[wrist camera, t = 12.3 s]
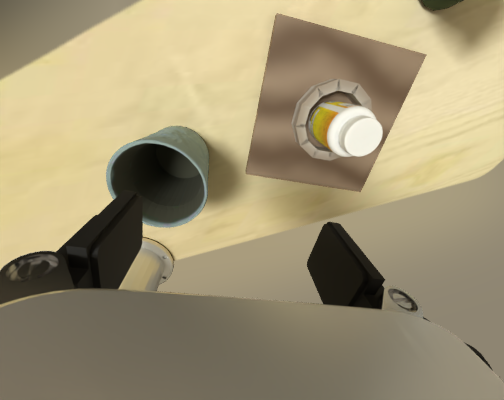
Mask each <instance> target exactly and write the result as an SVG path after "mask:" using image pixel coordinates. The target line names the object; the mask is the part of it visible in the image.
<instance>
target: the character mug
mask: <svg viewBox="0 0 504 400" xmlns="http://www.w3.org/2000/svg"><path fill="white" fill-rule="evenodd" d="M422 1H423V3H424V6H426V7H428V8H430V9H432V10H439V9H445V8H449V7H451V6H453V5H455V4H457V3H459V2H461V1H463V0H422Z"/></svg>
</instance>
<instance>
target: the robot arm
mask: <svg viewBox="0 0 504 400" xmlns="http://www.w3.org/2000/svg"><path fill="white" fill-rule="evenodd" d="M142 226H143V198H142V196H139V194H138V192H133V191H126V190H124V191H122V192H121V193H120V194H119V195H118V196H117V197H116V198H115V199H114V200H113V201H112V202H111V203H110V204H109V205H108V206H107V207H106V208H105V209H104V210H103V211H102V212H101V213H100V214H99V215H95V216H94V217H93V218H92V219H91V220H89V221H88V222H87V223H86V224H85V225H84V226H83V227H82V228H81V229H80V230H79V231H78V232H77V233H76V234H75V235H74V236H73V237H71V238H70V239H69V240H68V241H67V242H66V243H65V244H64V245H63V246H62V247H61V248H60V249H59V250H58V251H57V252H52V251H39V252H34V253H29V254H26V255H23V256H20V257H18V258H16V259H14V260H12V261H10V262H9V263H8V264H6V265H5V266H4V267H3V268H2V269H1V270H0V400H504V379H502V378H501V377H500V376H499V377H498V376H497V375H496V374H495V373H494V372H493V370H492V368H491V367H490V365H489V364H488V362H487V361H486V360H485V359H484V357H483V356H482V355H481V354H480V353H479V352H478V351H477V350H476V349H475V348H473V347H472V346H470V345H468V344H466V343H464V342H463V341H462V340H460V339H459V338H458V337H457V336H455V335H454V334H453V333H451V332H450V331H448V330H446V329H444V328H443V327H440V326H439V325H437V324H434V323H432V322H430V321H429V320H427V319H426V318H424V317H423V312H422V308H421V306H420V304H419V303H418V302H417V301H416V300H415V298H414V297H412V296H411V295H410V294H409V293H407V292H406V291H404V290H402V289H400V288H398V287H395V286H387V287H385V288H384V287H383V286H382V284H383V282H384V281H385V279H384V278H383V276H382V275H381V274H380V273H379V272H378V270H377V269H376V268H375V267H374V265H373V264H372V263H371V262H370V261H369V259H368V258H367V257H366V255H364V253H363V252H362V251H361V249H360V248H359V247H358V246H357V244H356V243H355V242H354V241H353V239H352V238H351V237H350V236H349V235H348V233H347V232H346V231H345V230H344V228H343V227H342V226H341V225H340V224H338V223H332V222H328V223H327V224H324V226H323V227H322V230H321V232H320V234H319V236H318V239H317V241H316V243H315V245H314V248H313V250H312V252H311V254H310V257H309V259H308V262H307V267H308V270H309V272H310V274H311V276H312V279H313V281H314V283H315V286H316V288H317V291H318V293H319V295H320V297H321V300H322V302H323V304H314V303H303V302H291V301H278V300H265V299H252V298H238V297H226V296H212V295H199V294H185V293H171V292H157V288H158V286H159V285H160V284H162V283H163V282H165V281H166V280H167V279H168V278H169V277H170V275H171V273H172V271H173V267H174V262H173V258H172V256H171V254H170V253H169V252H168V250H167V249H166V248H164V247H163V246H162V245H160V244H159V243H157V242H155V241H153V240H150V239H147V238H142Z"/></svg>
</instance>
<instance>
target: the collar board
mask: <svg viewBox="0 0 504 400" xmlns="http://www.w3.org/2000/svg"><path fill="white" fill-rule="evenodd" d="M425 57H426V54H422V53H418V52H415V51H411V50H408V49H404V48H400V47H397V46H393V45H390V44H386V43H382V42H379V41H375V40H372V39H368V38H364V37H361V36H357V35H354V34H350V33H346V32H343V31H339V30H336V29H332V28H329V27H325V26H321V25H318V24H314V23H311V22H307V21H303V20H300V19H296V18H293V17H289V16H285V15H282V14H278V13H277V14H276V16H275V21H274V26H273V31H272V37H271V42H270V47H269V52H268V57H267V63H266V68H265V73H264V78H263V83H262V89H261V94H260V99H259V104H258V109H257V115H256V120H255V125H254V130H253V135H252V141H251V146H250V151H249V156H248V161H247V167H246V174H249V175H256V176H262V177H268V178H275V179H281V180H288V181H294V182H300V183H307V184H313V185H320V186H326V187H332V188H339V189H345V190H351V191H358V192H361V190H362V188H363V186H364V184H365V182H366V180H367V178H368V175H369V173H370V171H371V169H372V167H373V165H374V163H375V161H376V159H377V157H378V155H379V153H380V151H381V148H382V146H383V144H384V142H385V140H386V138H387V136H388V134H389V132H390V130H391V128H392V126H393V123H394V121H395V119H396V117H397V115H398V113H399V111H400V109H401V107H402V105H403V103H404V101H405V99H406V96H407V94H408V92H409V90H410V88H411V86H412V84H413V82H414V80H415V78H416V76H417V74H418V72H419V69H420V67H421V65H422V63H423V61H424V59H425ZM326 101H338V102H343V103H348V104H353V105H358V106H362V107H365V108H367V109H369V110H370V111H372V112H373V114H374V115H375V117H376V120H377V121H378V122H379V123H380V124H381V126H382V130H383V134H382V139H381V141H380V143H379V145H378V146H377V147H376V149H375V150H374V151H372V152H371V153H369V154H367V155H365V156H360V157H357V156H351V157H343V156H339V155H337V154H335V153H334V152H333V151H331V150H330V149H328V148H327V147H326V146H324V145H323V144H321V143H320V142H319V141H317V140H316V139H315V138H314V137H313V136H312V135H311V133H310V131H309V118H310V116H311V114H312V112H313V110H314V109H315V108H316V107H317V106H318V105H320V104H321V103H323V102H326Z"/></svg>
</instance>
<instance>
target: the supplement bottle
mask: <svg viewBox="0 0 504 400" xmlns="http://www.w3.org/2000/svg"><path fill="white" fill-rule="evenodd" d="M309 131H310V133H311V135H312V136H313V137H314V138H315V139H316V140H317V141H319V142H320V143H321V144H323V145H324V146H326V147H327V148H328V149H330V150H331V151H333V152H334V153H335V154H337V155H339V156H343V157H351V156H357V157H360V156H365V155H367V154H369V153H371V152H372V151H374V150H375V149H376V147H377V146H378V145H379V143H380V141H381V139H382V134H383V130H382V126H381V124H380V123H379V122H378V121H377V120H376V117H375V115H374V114H373V112H372V111H370V110H369V109H367V108H365V107H362V106H358V105H353V104H348V103H343V102H338V101H326V102H323V103H321V104H320V105H318V106H317V107H316V108H315V109H314V110H313V112H312V114H311V116H310V118H309Z"/></svg>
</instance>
